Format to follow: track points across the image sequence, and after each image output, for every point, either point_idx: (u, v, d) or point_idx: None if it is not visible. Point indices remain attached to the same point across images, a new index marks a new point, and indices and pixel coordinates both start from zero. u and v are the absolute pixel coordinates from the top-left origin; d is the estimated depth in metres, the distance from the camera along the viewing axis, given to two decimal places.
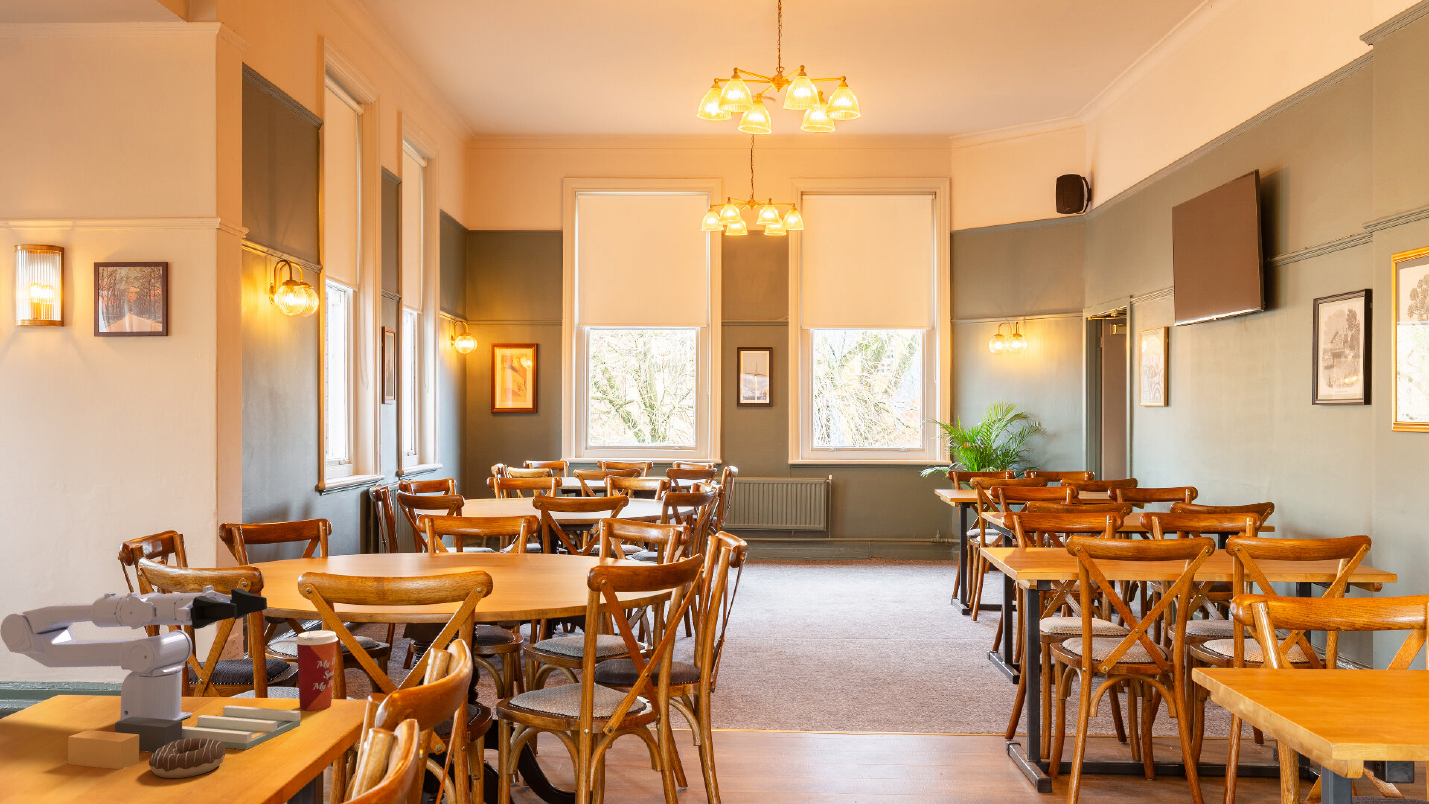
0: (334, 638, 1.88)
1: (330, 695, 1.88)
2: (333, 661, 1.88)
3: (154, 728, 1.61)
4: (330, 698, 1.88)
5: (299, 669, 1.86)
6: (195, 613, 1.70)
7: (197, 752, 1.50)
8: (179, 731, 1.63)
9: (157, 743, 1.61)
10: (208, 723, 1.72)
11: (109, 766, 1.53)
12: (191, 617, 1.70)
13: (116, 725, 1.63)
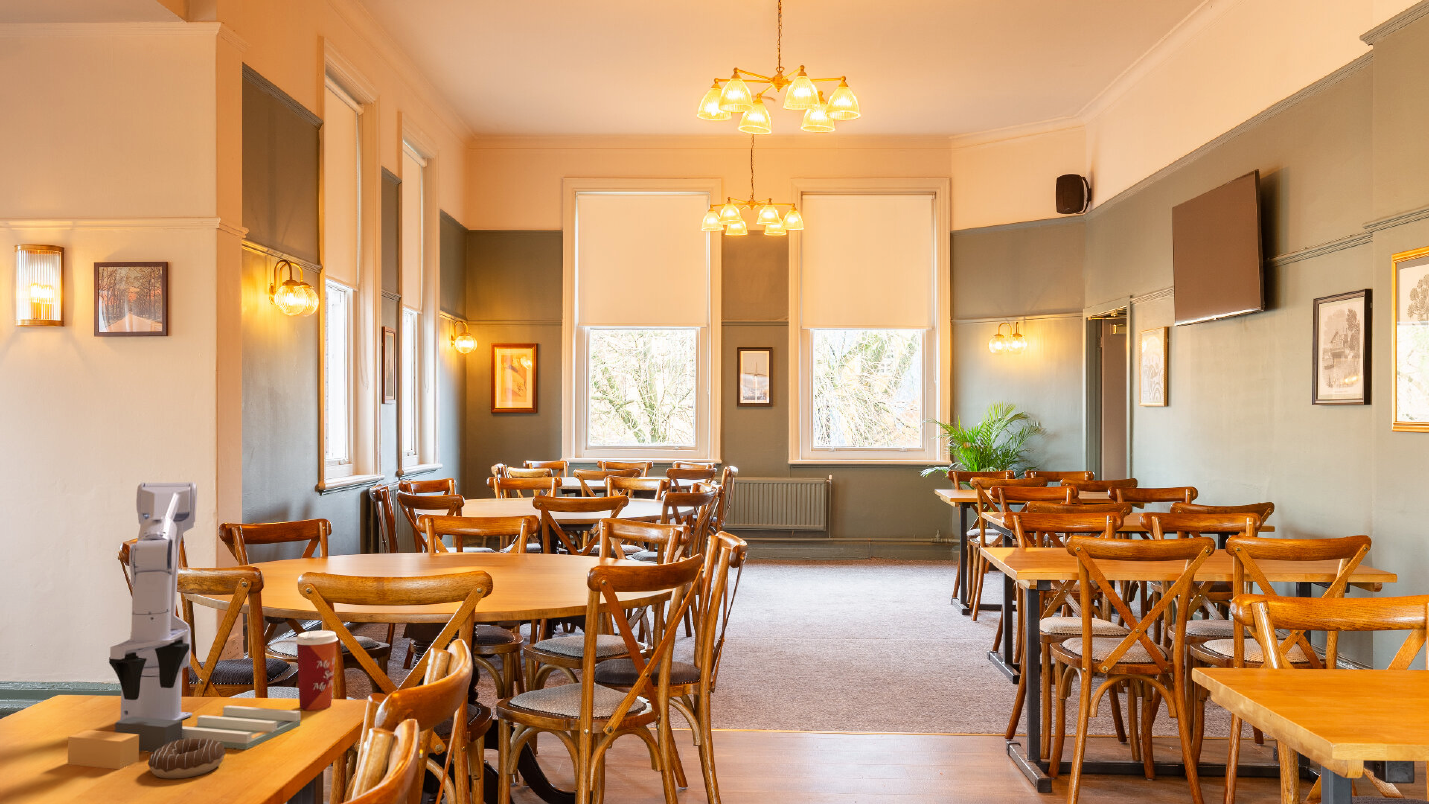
0: (334, 638, 1.88)
1: (330, 695, 1.88)
2: (333, 661, 1.88)
3: (154, 728, 1.61)
4: (330, 698, 1.88)
5: (299, 669, 1.86)
6: (121, 662, 1.58)
7: (196, 753, 1.50)
8: (179, 731, 1.63)
9: (157, 743, 1.61)
10: (208, 723, 1.72)
11: (108, 766, 1.53)
12: None
13: (116, 725, 1.63)
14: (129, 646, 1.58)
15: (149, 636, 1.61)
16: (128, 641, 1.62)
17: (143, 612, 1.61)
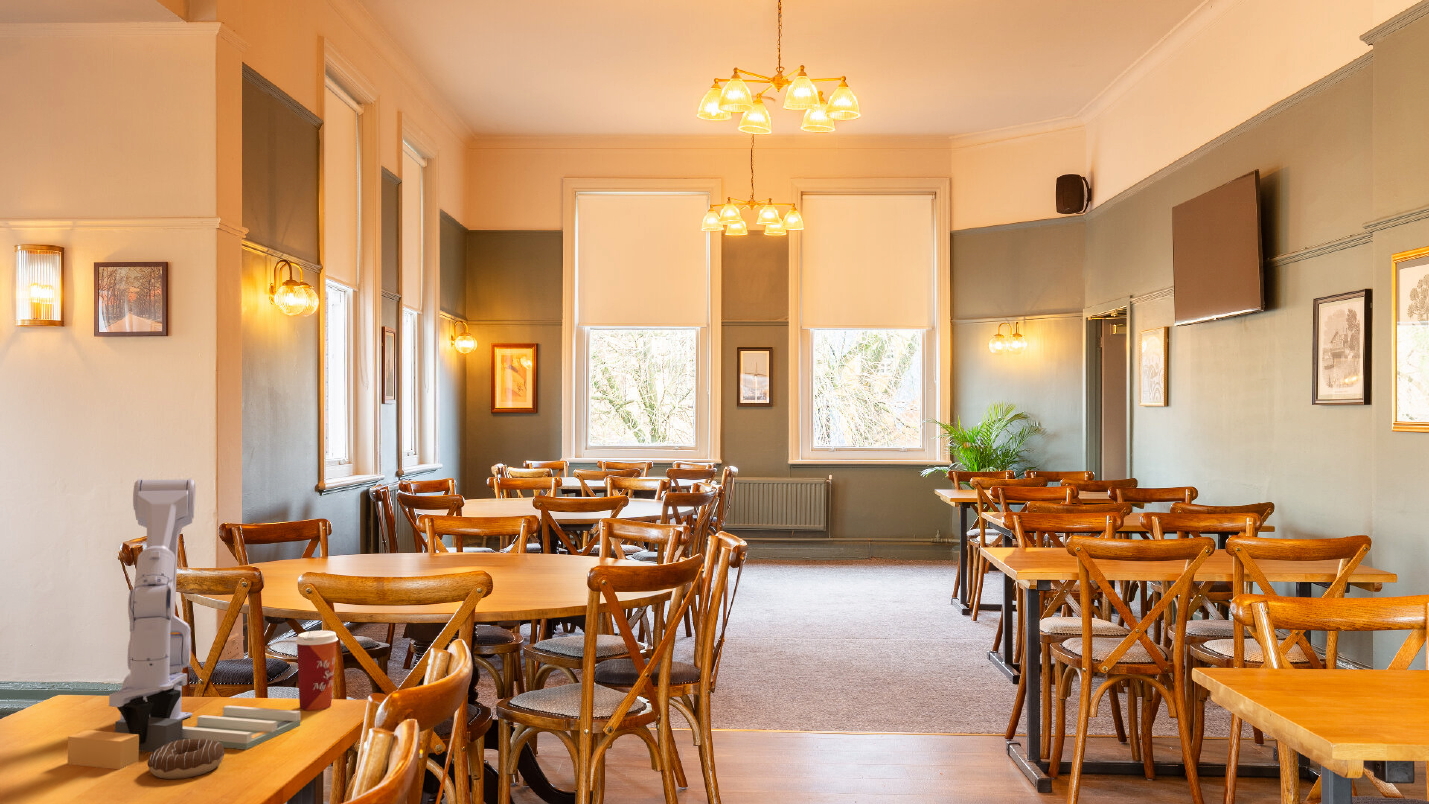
0: (334, 638, 1.88)
1: (330, 695, 1.88)
2: (333, 661, 1.88)
3: (154, 727, 1.61)
4: (330, 698, 1.88)
5: (299, 669, 1.86)
6: (129, 706, 1.59)
7: (196, 753, 1.50)
8: (179, 730, 1.63)
9: (158, 741, 1.61)
10: (208, 723, 1.72)
11: (108, 765, 1.53)
12: None
13: (116, 724, 1.63)
14: (128, 693, 1.58)
15: (148, 682, 1.61)
16: (127, 687, 1.61)
17: (142, 658, 1.61)
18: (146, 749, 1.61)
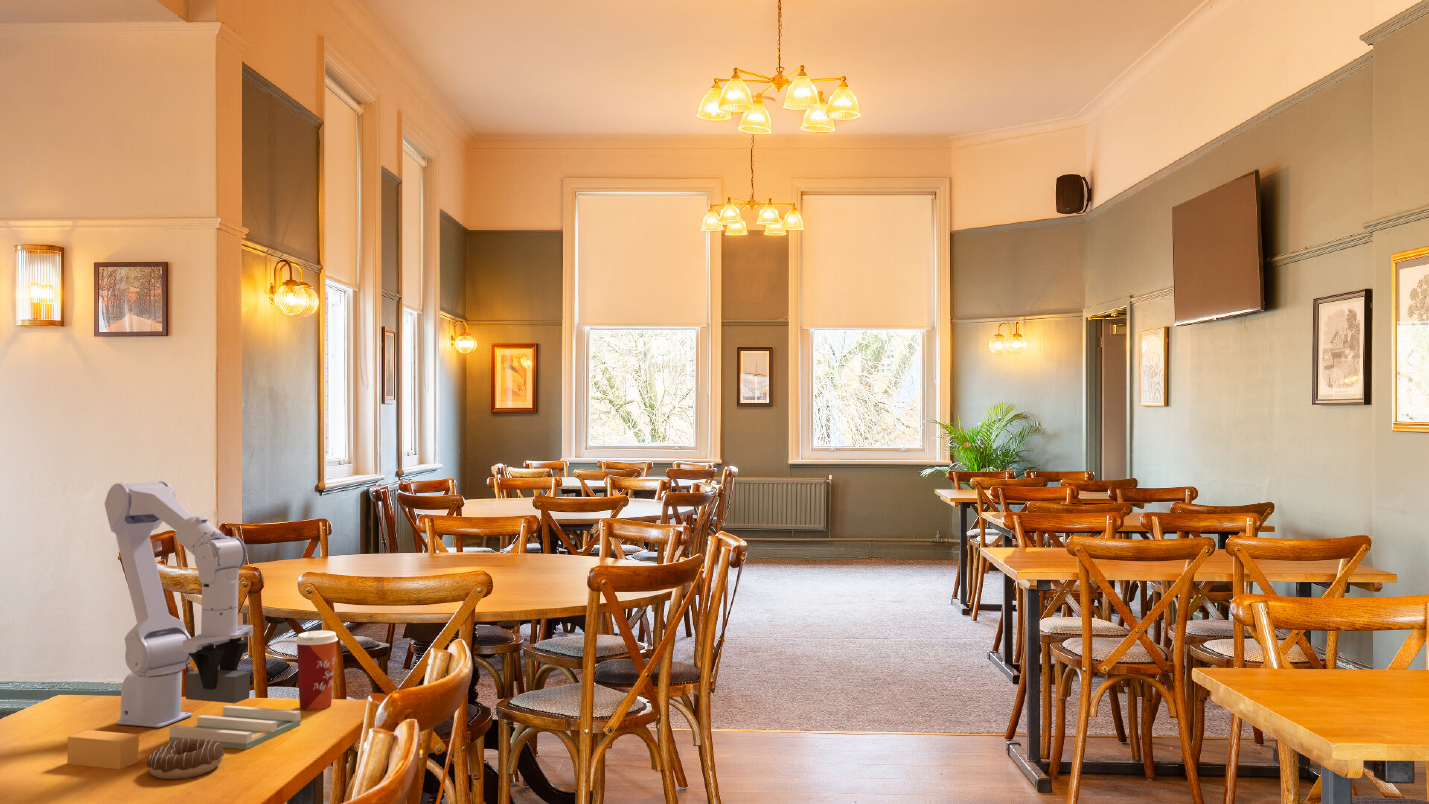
0: (334, 638, 1.88)
1: (330, 695, 1.88)
2: (333, 661, 1.88)
3: (224, 678, 1.68)
4: (330, 698, 1.88)
5: (299, 669, 1.86)
6: (201, 653, 1.67)
7: (195, 753, 1.50)
8: (247, 682, 1.71)
9: (227, 692, 1.68)
10: (208, 723, 1.72)
11: (108, 765, 1.53)
12: None
13: (187, 676, 1.70)
14: (200, 640, 1.65)
15: (219, 631, 1.68)
16: (198, 636, 1.69)
17: (225, 607, 1.69)
18: (216, 699, 1.68)
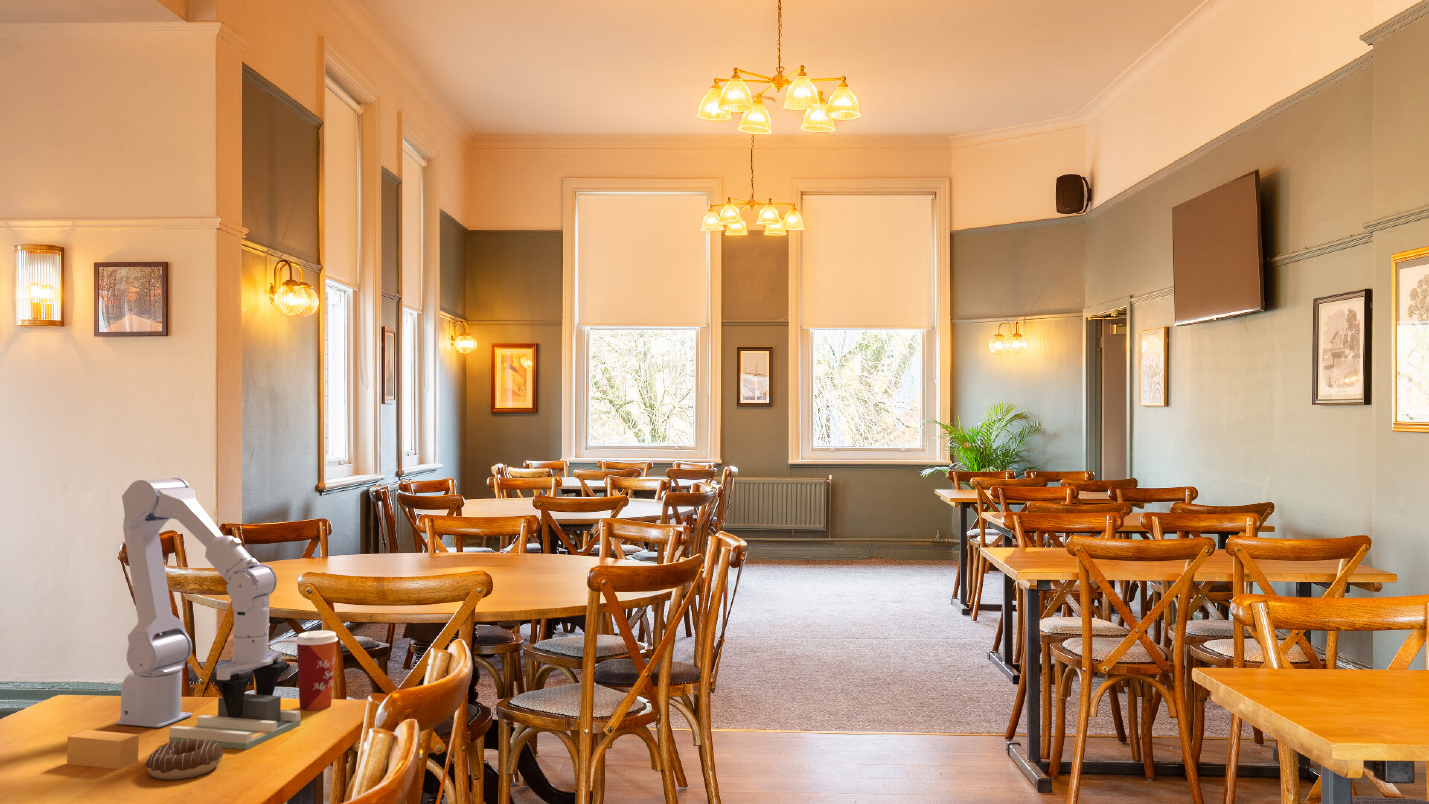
0: (334, 638, 1.88)
1: (330, 695, 1.88)
2: (333, 661, 1.88)
3: (256, 702, 1.72)
4: (330, 698, 1.88)
5: (299, 669, 1.86)
6: (226, 683, 1.69)
7: (194, 754, 1.50)
8: (278, 706, 1.74)
9: (259, 716, 1.72)
10: (208, 723, 1.72)
11: (108, 765, 1.53)
12: None
13: (219, 700, 1.74)
14: (234, 668, 1.69)
15: (251, 658, 1.72)
16: (230, 662, 1.72)
17: (260, 634, 1.73)
18: None
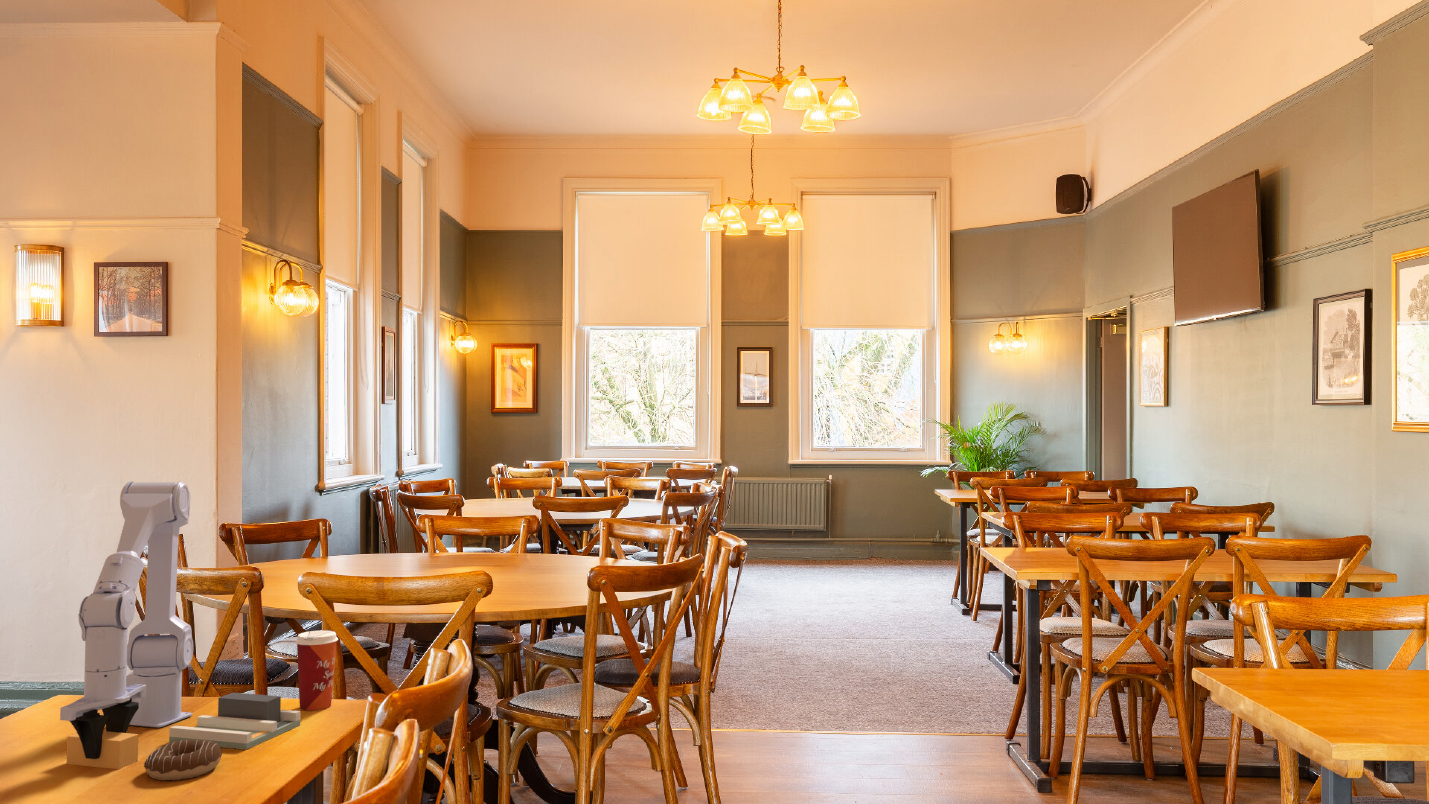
0: (334, 638, 1.88)
1: (330, 695, 1.88)
2: (333, 661, 1.88)
3: (256, 702, 1.72)
4: (330, 698, 1.88)
5: (299, 669, 1.86)
6: (82, 720, 1.52)
7: (192, 754, 1.49)
8: (278, 706, 1.74)
9: (259, 716, 1.72)
10: (208, 723, 1.72)
11: (108, 765, 1.53)
12: None
13: (219, 700, 1.74)
14: (80, 706, 1.50)
15: (103, 695, 1.53)
16: (80, 700, 1.54)
17: (92, 669, 1.53)
18: None
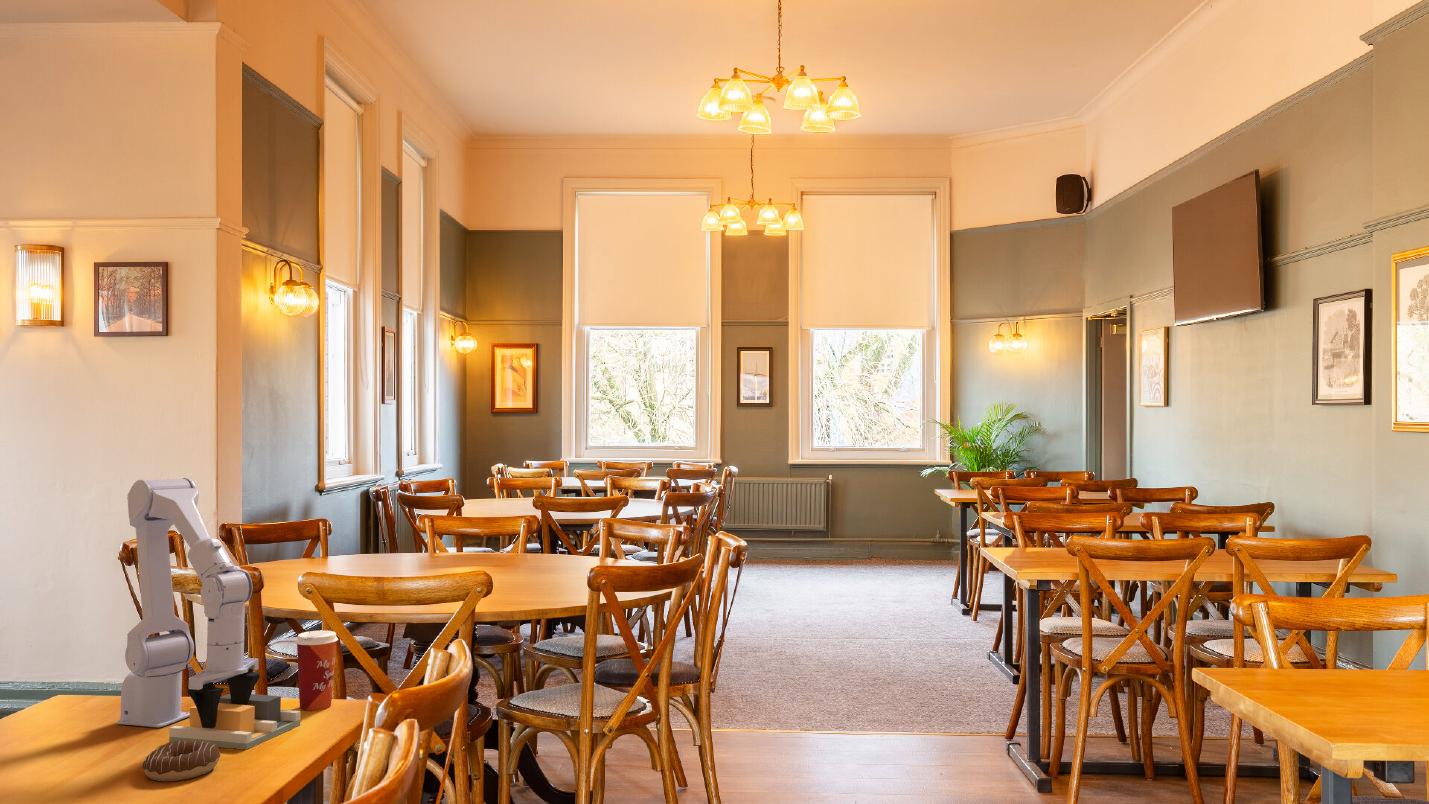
0: (334, 638, 1.88)
1: (330, 695, 1.88)
2: (333, 661, 1.88)
3: (256, 702, 1.72)
4: (330, 698, 1.88)
5: (299, 669, 1.86)
6: (200, 692, 1.62)
7: (191, 755, 1.49)
8: (278, 706, 1.74)
9: (259, 716, 1.72)
10: None
11: None
12: (195, 688, 1.62)
13: (219, 700, 1.74)
14: (206, 677, 1.62)
15: (225, 666, 1.66)
16: (204, 671, 1.66)
17: (230, 642, 1.66)
18: None
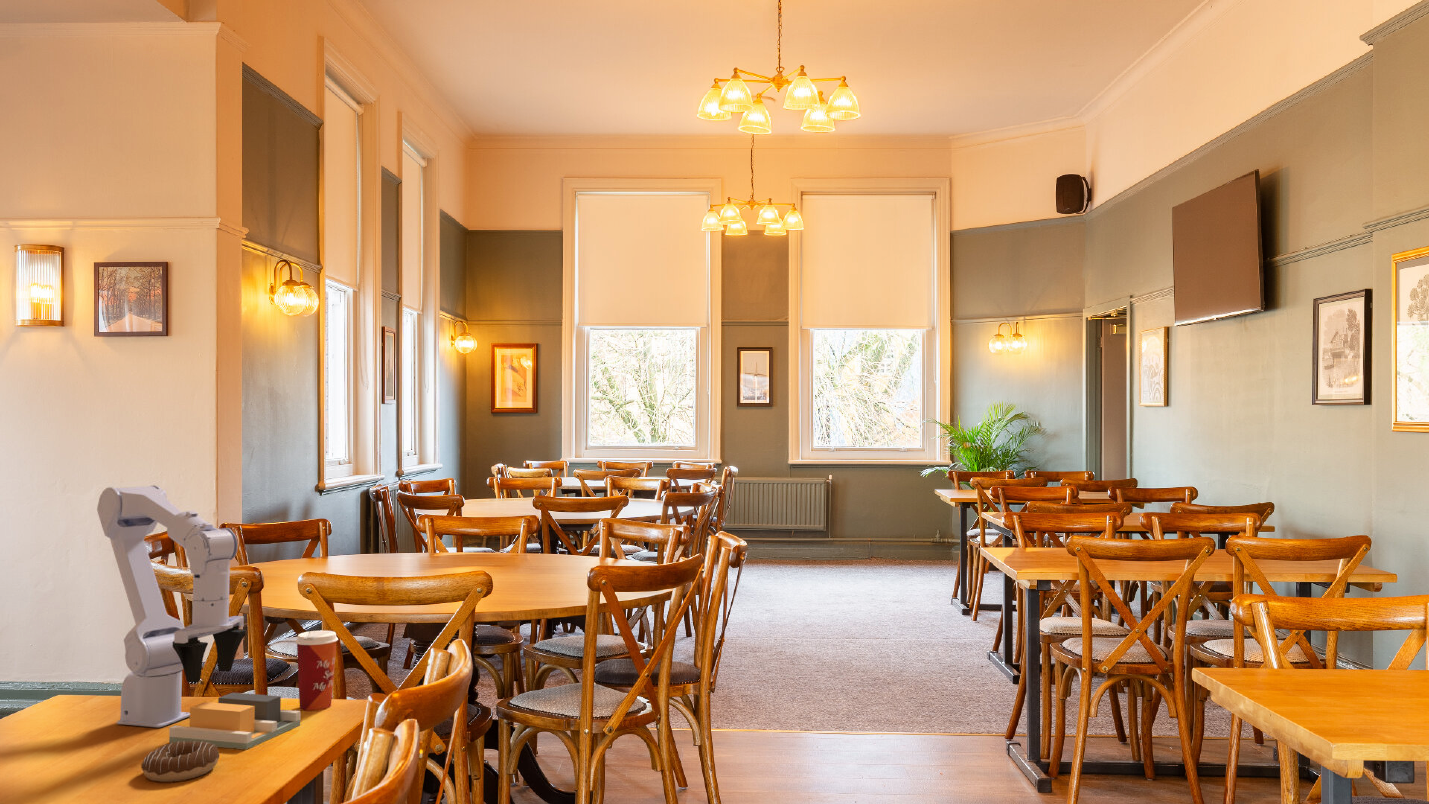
0: (334, 638, 1.88)
1: (330, 695, 1.88)
2: (333, 661, 1.88)
3: (256, 702, 1.72)
4: (330, 698, 1.88)
5: (299, 669, 1.86)
6: (184, 646, 1.66)
7: (190, 756, 1.49)
8: (278, 706, 1.74)
9: (259, 716, 1.72)
10: None
11: None
12: (180, 642, 1.66)
13: (219, 700, 1.74)
14: (192, 631, 1.66)
15: (210, 622, 1.69)
16: (189, 626, 1.70)
17: (215, 598, 1.70)
18: None
